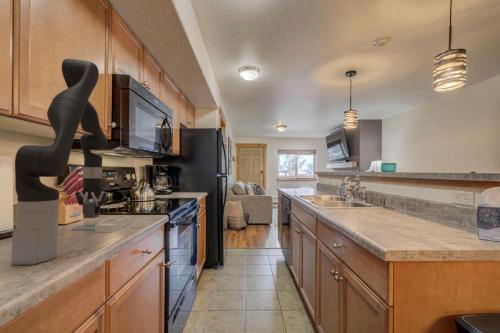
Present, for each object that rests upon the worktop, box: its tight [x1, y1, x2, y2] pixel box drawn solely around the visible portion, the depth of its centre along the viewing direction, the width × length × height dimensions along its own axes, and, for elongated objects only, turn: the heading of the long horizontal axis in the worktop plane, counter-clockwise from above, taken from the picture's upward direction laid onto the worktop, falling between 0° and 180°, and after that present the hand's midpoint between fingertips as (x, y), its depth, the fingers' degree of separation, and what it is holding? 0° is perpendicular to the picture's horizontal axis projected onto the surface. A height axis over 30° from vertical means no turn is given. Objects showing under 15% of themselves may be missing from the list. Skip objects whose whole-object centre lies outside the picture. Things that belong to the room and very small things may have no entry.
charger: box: [83, 200, 100, 219], centre depth 111 cm, size 4×4×7 cm
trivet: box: [72, 223, 98, 231], centre depth 111 cm, size 10×10×1 cm
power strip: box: [94, 215, 132, 233], centre depth 111 cm, size 18×7×4 cm, turn 3°
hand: (91, 214), depth 111 cm, fingers closed on charger, 4 cm apart
